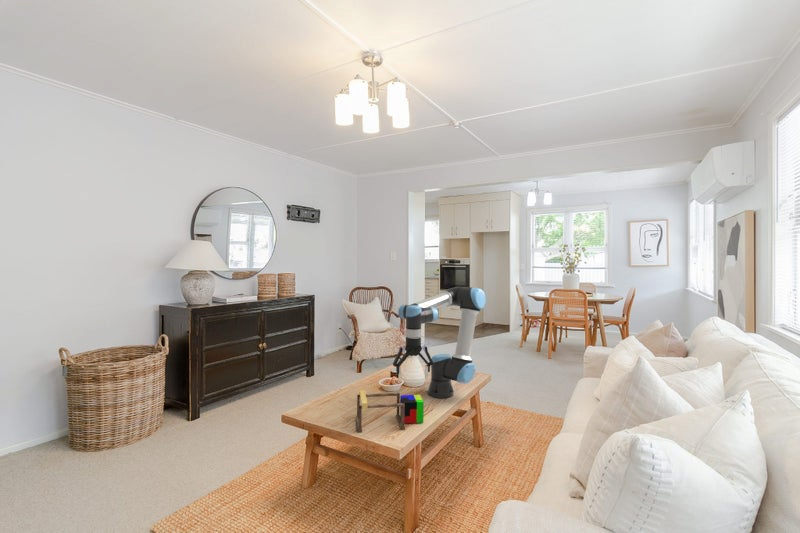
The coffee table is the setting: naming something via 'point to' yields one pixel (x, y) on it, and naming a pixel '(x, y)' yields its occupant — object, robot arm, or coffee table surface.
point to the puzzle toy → (412, 408)
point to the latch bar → (363, 399)
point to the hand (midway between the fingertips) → (413, 379)
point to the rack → (399, 419)
